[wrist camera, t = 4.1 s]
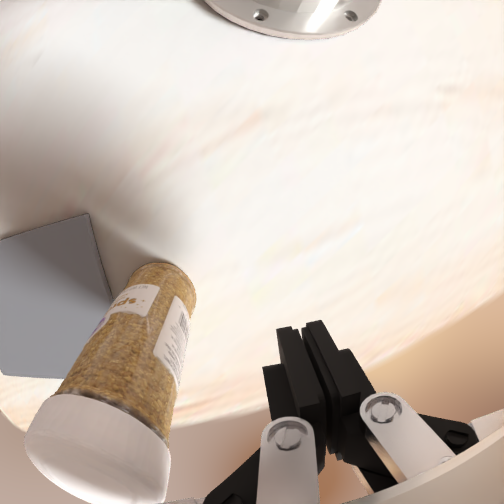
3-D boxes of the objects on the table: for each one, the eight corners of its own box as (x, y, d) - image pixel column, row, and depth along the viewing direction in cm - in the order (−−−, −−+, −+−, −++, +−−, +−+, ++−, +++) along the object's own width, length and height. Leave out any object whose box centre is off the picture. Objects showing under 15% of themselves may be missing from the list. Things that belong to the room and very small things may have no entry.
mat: (6, 371, 19) (3, 375, 19) (-43, 256, 16) (-47, 258, 15) (141, 372, 20) (140, 377, 19) (88, 213, 16) (84, 215, 16)
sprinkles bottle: (138, 249, 17) (7, 410, 4) (208, 276, 18) (181, 483, 5) (122, 311, 18) (31, 479, 5) (185, 335, 19) (152, 526, 6)
